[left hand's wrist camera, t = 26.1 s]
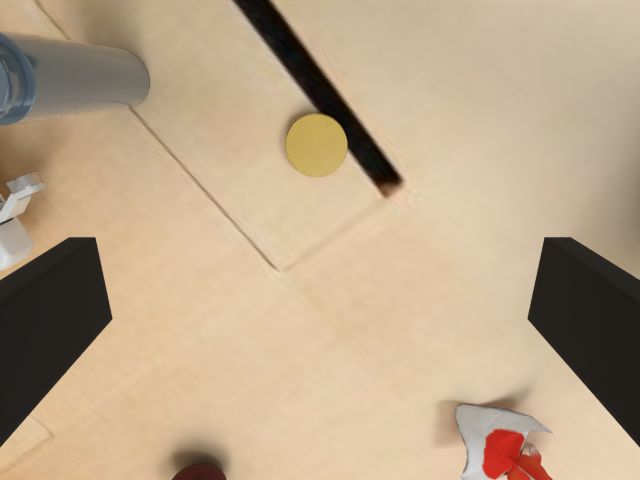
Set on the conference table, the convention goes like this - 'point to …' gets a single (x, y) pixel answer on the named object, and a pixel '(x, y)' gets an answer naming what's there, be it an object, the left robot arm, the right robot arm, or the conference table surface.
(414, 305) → the conference table surface
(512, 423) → the fish
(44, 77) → the jar
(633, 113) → the conference table surface
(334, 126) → the lid
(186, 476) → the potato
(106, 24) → the conference table surface
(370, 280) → the conference table surface
